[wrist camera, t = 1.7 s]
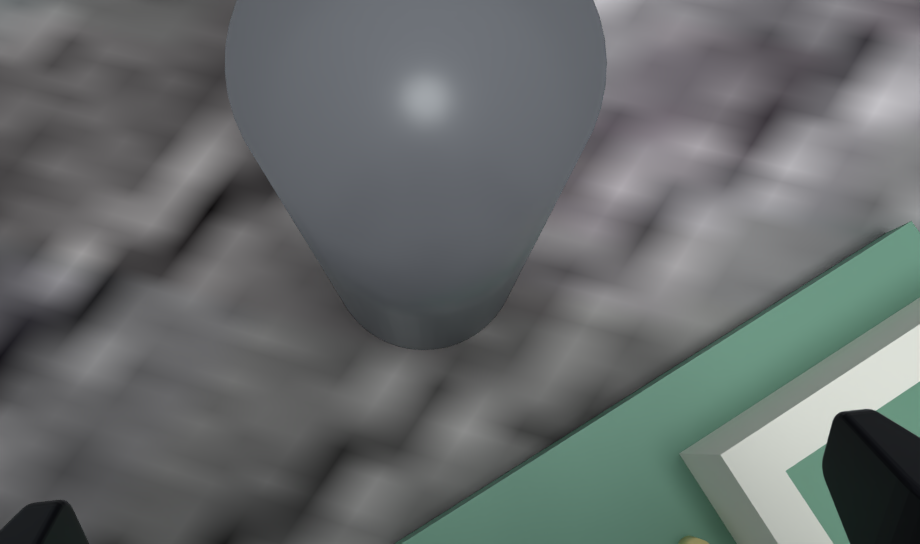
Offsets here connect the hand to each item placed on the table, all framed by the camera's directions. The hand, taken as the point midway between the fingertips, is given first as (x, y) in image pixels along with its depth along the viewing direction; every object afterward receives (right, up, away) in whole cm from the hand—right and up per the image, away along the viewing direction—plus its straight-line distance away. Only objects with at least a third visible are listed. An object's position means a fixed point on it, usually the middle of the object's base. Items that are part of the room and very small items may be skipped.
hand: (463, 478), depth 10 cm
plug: (-1, +3, +13) cm, 13 cm away
